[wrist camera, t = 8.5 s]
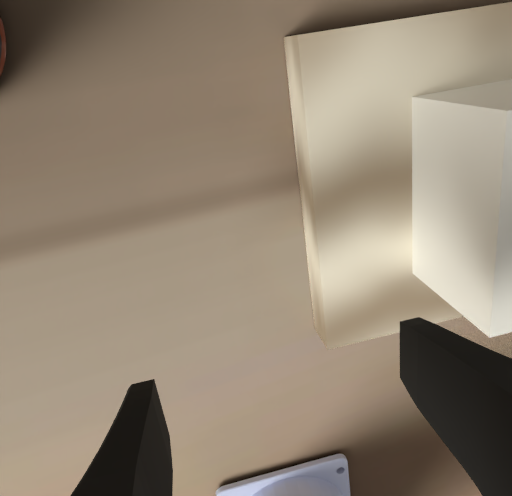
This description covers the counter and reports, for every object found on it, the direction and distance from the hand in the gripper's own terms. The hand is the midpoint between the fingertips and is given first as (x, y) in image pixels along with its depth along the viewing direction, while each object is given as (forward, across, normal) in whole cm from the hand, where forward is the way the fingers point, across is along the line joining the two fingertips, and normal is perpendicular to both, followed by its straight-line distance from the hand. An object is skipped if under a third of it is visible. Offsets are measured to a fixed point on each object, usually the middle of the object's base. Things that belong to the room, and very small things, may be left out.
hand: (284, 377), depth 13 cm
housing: (+7, -10, -2) cm, 13 cm away
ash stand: (+9, -10, -2) cm, 14 cm away
